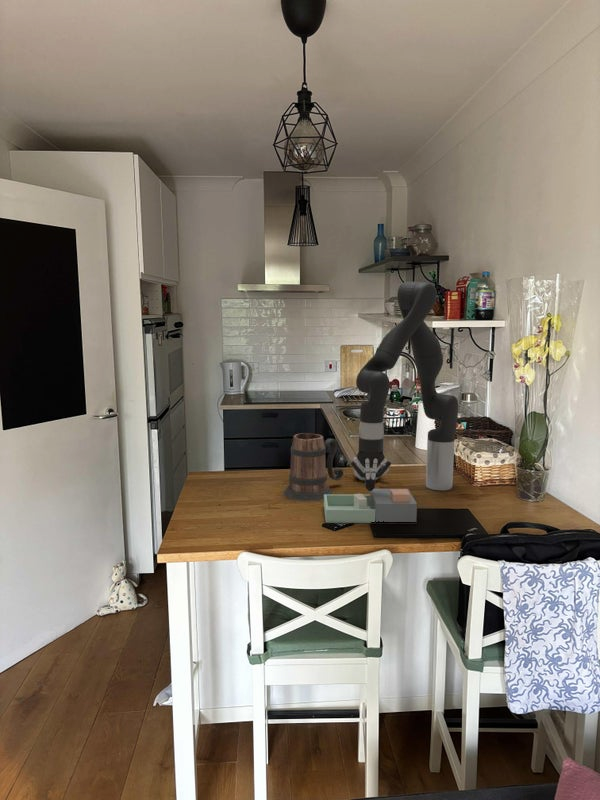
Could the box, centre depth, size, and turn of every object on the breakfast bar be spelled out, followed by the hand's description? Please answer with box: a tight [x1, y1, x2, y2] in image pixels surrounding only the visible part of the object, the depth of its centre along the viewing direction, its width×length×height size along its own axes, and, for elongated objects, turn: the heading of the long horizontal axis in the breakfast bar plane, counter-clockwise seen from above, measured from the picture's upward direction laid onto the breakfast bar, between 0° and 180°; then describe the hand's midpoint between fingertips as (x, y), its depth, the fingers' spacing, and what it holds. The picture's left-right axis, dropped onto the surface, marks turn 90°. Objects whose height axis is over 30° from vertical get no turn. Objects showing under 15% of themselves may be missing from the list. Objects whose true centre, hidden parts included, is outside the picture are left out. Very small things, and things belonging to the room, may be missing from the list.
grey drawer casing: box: [369, 488, 418, 523], centre depth 176 cm, size 14×12×6 cm
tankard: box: [282, 432, 344, 502], centre depth 197 cm, size 24×17×20 cm
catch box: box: [323, 494, 376, 524], centre depth 176 cm, size 14×15×4 cm
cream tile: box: [353, 493, 367, 509], centre depth 177 cm, size 5×5×2 cm
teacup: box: [353, 456, 391, 482], centre depth 211 cm, size 14×11×8 cm
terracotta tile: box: [389, 488, 410, 503], centre depth 172 cm, size 5×5×2 cm
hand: (369, 490), depth 178 cm, fingers closed
